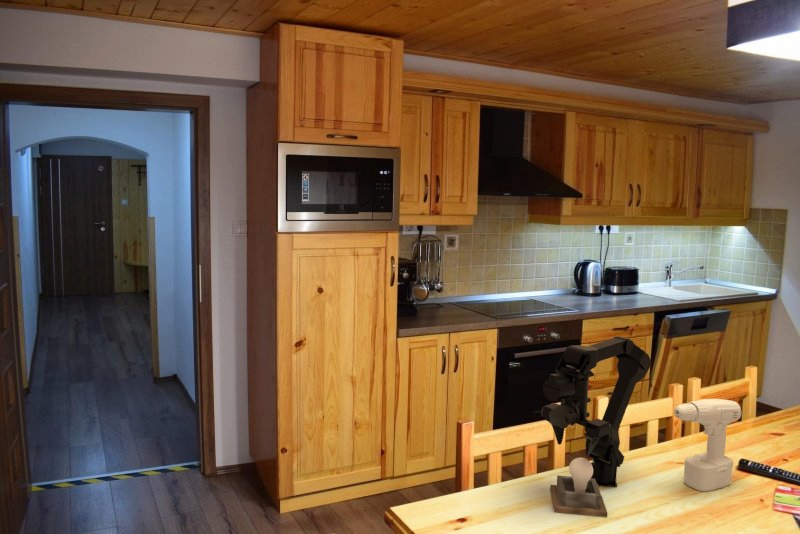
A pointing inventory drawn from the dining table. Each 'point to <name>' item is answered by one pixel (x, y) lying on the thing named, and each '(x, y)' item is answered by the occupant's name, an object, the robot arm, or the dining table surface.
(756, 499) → the dining table surface
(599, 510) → the lamp socket
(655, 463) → the dining table surface
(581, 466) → the lightbulb
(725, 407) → the power drill
